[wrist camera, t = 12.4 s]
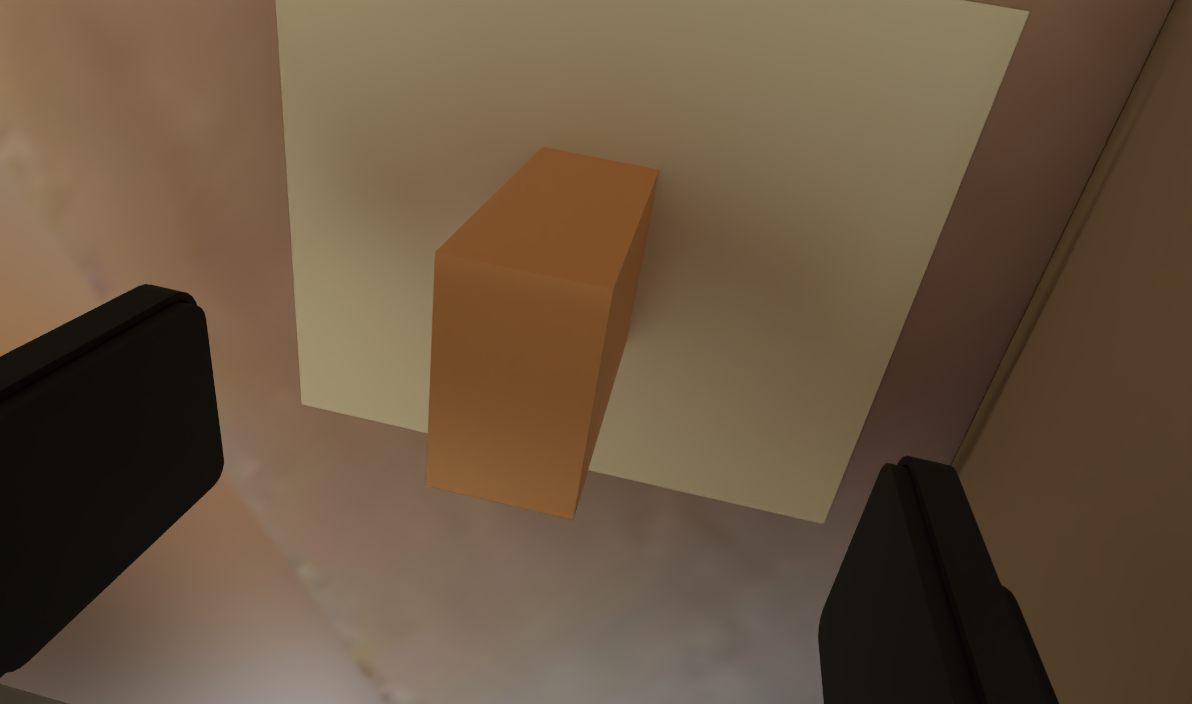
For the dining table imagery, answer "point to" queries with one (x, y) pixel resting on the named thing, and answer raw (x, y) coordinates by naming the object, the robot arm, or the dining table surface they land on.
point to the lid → (623, 228)
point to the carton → (1105, 416)
